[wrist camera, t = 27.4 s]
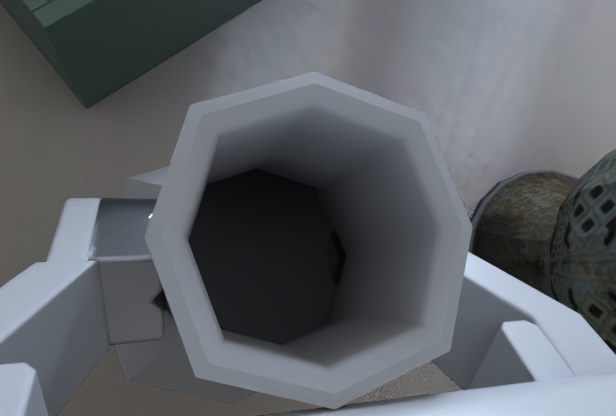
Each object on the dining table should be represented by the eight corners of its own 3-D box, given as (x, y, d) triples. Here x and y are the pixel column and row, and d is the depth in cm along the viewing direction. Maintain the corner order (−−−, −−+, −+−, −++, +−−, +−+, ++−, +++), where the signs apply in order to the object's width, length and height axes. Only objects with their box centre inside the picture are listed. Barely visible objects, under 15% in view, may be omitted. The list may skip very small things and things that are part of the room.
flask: (93, 149, 14) (-107, -178, 4) (336, 152, 16) (584, -67, 6) (90, 418, 13) (-196, 826, 3) (352, 386, 14) (689, 575, 5)
